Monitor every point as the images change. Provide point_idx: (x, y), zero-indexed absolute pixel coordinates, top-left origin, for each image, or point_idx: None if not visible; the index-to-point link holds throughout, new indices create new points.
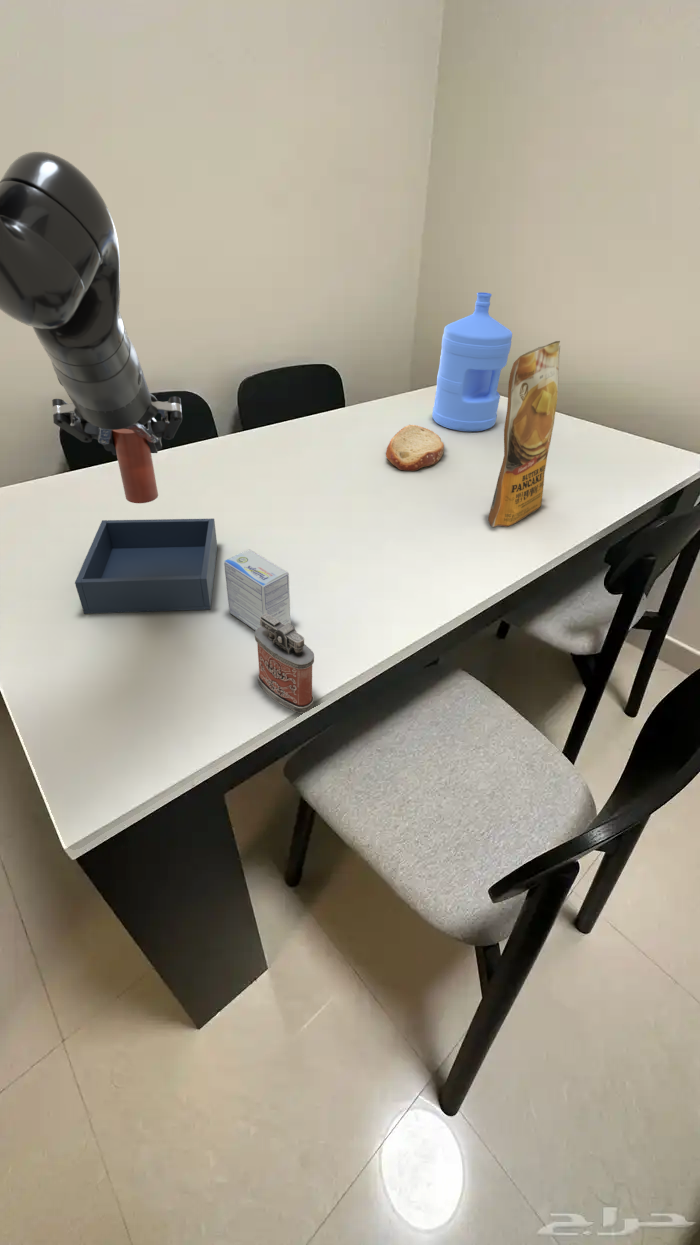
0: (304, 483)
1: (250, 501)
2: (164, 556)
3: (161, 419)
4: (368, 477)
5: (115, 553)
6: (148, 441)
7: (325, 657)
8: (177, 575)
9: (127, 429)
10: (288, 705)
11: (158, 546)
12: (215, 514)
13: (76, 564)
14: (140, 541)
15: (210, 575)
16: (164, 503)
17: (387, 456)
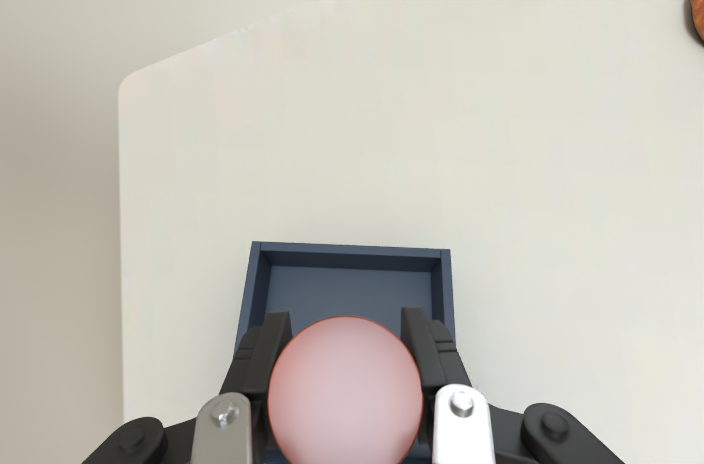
0: (557, 85)
1: (476, 133)
2: (356, 297)
3: (533, 449)
4: (662, 72)
5: (277, 281)
6: (424, 440)
7: None
8: None
9: (341, 427)
10: None
11: (344, 268)
12: (424, 168)
13: (219, 299)
14: (316, 264)
15: None
16: (341, 131)
17: (699, 22)
